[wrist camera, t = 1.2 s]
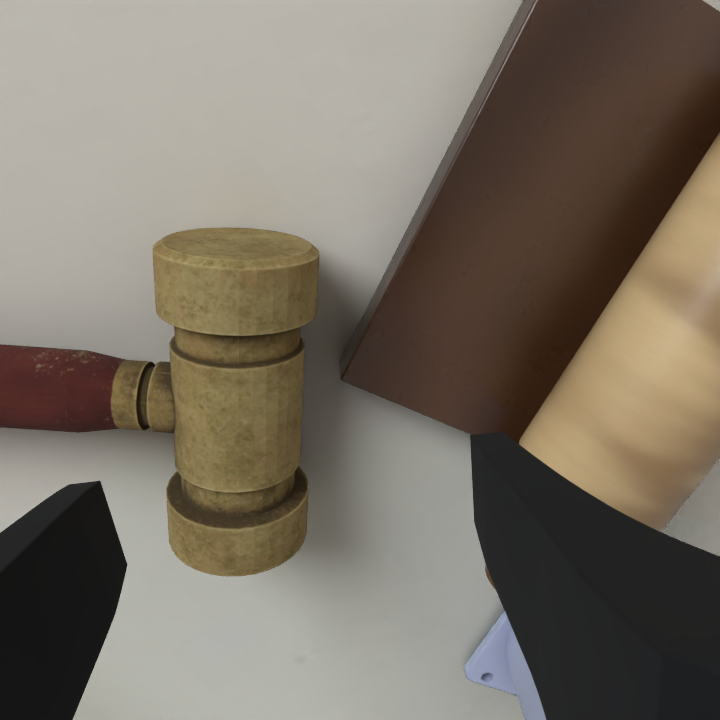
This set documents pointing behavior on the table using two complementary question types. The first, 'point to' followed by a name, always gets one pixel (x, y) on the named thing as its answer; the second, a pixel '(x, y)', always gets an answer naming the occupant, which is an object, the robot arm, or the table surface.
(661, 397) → the rolling pin
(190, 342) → the gavel
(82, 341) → the table surface
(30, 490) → the table surface
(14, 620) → the robot arm
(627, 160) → the pastry board
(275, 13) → the table surface
